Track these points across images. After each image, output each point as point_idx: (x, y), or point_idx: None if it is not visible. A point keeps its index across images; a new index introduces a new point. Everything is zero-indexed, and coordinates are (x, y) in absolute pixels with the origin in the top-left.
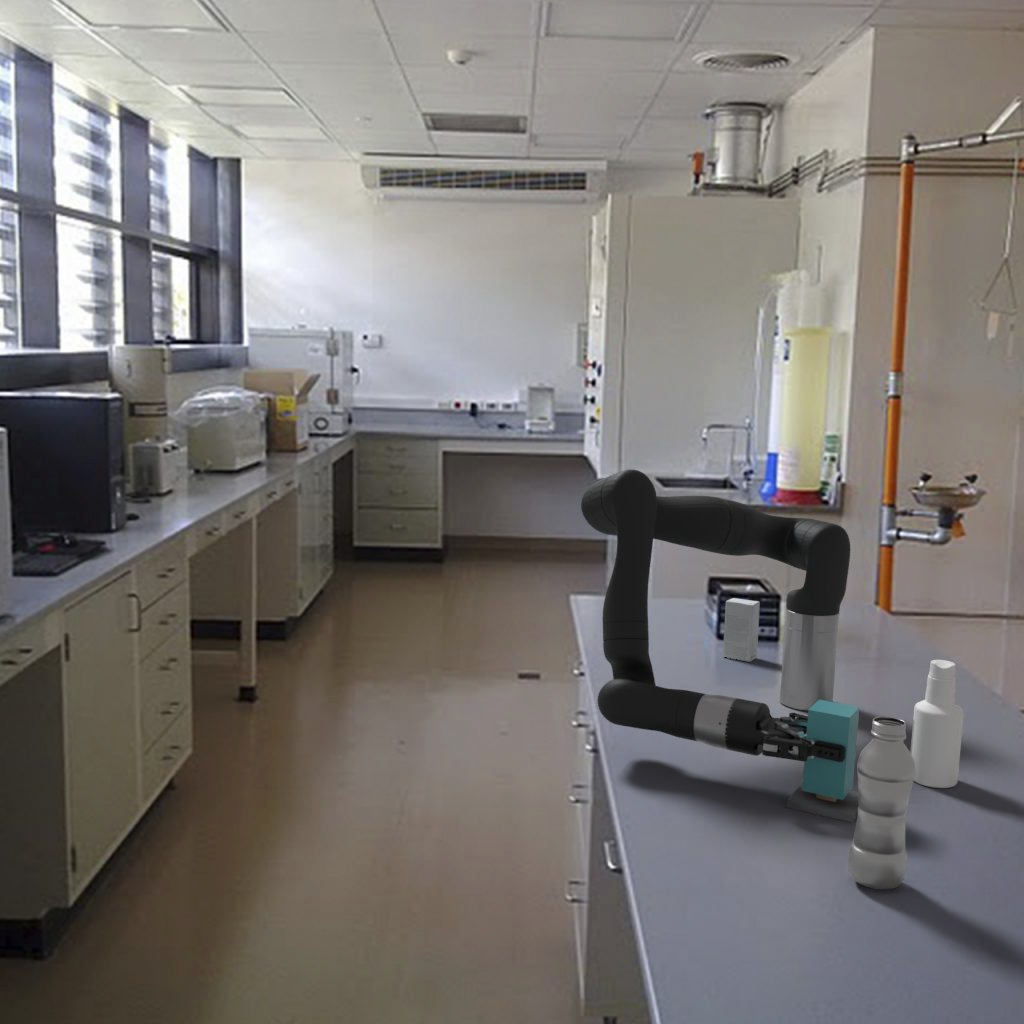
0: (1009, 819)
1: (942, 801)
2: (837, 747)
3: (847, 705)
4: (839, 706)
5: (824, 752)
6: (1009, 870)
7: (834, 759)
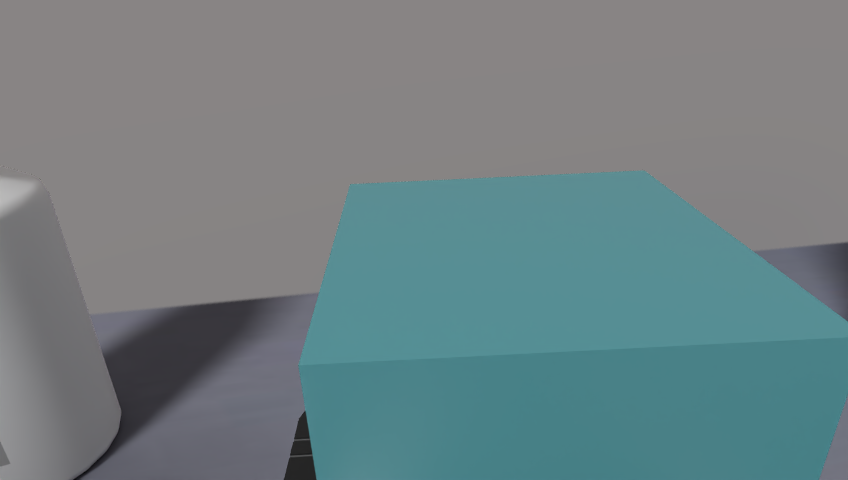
0: (298, 300)
1: (234, 399)
2: None
3: (362, 213)
4: (435, 229)
5: None
6: None
7: None
